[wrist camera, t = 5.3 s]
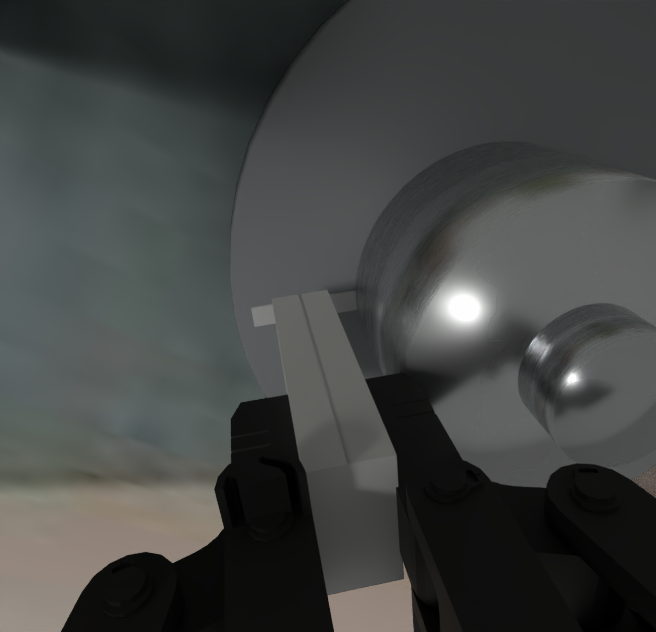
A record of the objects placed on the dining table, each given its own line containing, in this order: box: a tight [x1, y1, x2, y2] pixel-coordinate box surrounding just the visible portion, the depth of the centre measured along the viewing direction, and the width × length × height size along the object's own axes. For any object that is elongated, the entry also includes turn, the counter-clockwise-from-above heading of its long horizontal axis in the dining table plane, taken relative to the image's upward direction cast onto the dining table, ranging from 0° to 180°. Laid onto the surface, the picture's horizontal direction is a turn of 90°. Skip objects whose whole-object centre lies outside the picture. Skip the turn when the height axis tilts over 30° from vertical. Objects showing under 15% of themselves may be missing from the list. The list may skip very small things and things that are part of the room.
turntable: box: [230, 0, 656, 398], centre depth 17 cm, size 18×22×6 cm
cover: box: [356, 141, 656, 488], centre depth 14 cm, size 8×8×6 cm
